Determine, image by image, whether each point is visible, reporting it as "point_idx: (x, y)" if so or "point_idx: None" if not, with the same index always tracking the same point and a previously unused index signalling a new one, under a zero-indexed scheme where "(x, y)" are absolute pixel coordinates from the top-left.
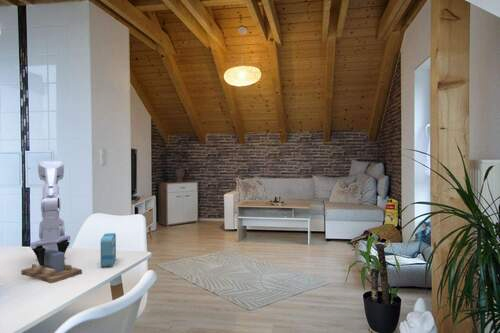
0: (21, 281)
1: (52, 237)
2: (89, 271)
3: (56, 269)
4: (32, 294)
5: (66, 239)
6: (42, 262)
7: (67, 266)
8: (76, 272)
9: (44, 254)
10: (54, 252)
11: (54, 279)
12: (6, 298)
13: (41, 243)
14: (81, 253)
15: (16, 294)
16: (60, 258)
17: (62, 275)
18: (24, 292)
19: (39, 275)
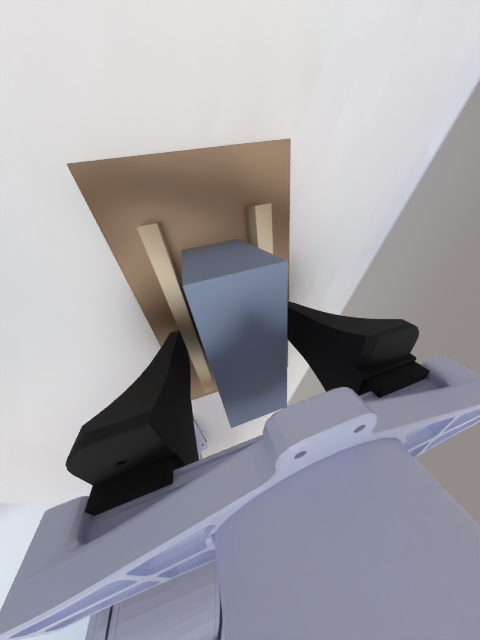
0: (318, 287)
1: (433, 522)
2: (10, 168)
3: (231, 243)
4: (412, 29)
5: (98, 523)
6: (296, 304)
7: (164, 243)
8: (117, 160)
9: (321, 324)
10: (243, 348)
11: (269, 143)
12: (452, 115)
13: (441, 397)
14: (56, 467)
15: (415, 131)
16: (217, 263)
17: (221, 150)
18: (394, 124)
19: (288, 265)
